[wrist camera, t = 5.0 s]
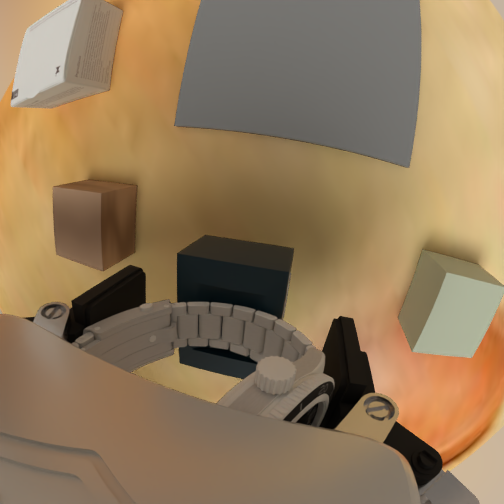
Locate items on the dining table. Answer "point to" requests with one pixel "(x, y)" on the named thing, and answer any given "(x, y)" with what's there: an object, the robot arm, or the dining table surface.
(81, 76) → the small box
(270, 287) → the watch
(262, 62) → the slate mat
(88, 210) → the walnut block
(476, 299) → the sage block
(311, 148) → the dining table surface
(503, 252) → the dining table surface
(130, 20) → the dining table surface
